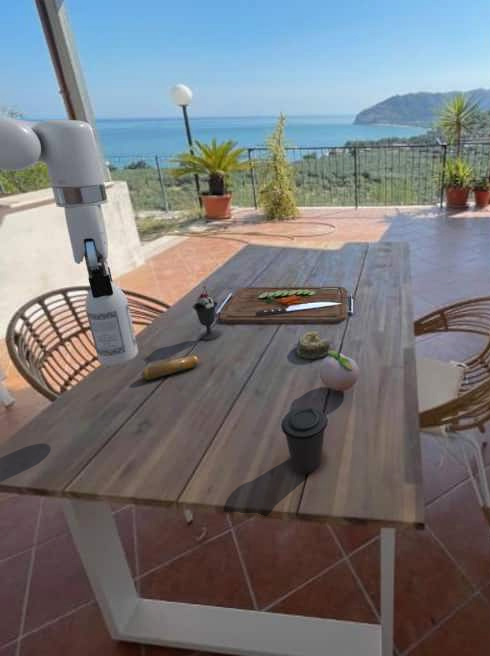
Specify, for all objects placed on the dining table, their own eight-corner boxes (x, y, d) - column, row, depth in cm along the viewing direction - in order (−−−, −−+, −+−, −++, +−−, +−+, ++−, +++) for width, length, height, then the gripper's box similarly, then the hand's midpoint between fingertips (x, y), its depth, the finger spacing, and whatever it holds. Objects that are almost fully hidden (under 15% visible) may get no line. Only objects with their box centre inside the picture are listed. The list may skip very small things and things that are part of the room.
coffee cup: (327, 442, 76) (325, 400, 72) (330, 476, 68) (329, 431, 65) (284, 447, 74) (281, 404, 71) (283, 482, 67) (279, 436, 63)
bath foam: (121, 346, 83) (100, 257, 76) (146, 351, 81) (127, 261, 74) (90, 363, 77) (65, 268, 70) (117, 370, 75) (94, 272, 68)
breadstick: (143, 384, 92) (140, 373, 91) (142, 377, 95) (139, 367, 94) (200, 367, 99) (199, 357, 98) (198, 361, 101) (196, 351, 100)
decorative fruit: (311, 390, 91) (310, 353, 87) (336, 374, 96) (335, 339, 93) (340, 408, 85) (340, 369, 81) (365, 390, 91) (365, 353, 87)
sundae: (216, 328, 118) (210, 282, 113) (224, 336, 114) (218, 289, 108) (194, 335, 114) (186, 288, 109) (202, 344, 110) (194, 295, 104)
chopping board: (353, 289, 147) (353, 282, 146) (353, 322, 122) (353, 314, 121) (234, 290, 147) (233, 282, 145) (209, 323, 121) (208, 314, 120)
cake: (312, 365, 101) (310, 348, 99) (289, 351, 107) (286, 335, 105) (340, 348, 107) (338, 332, 105) (316, 336, 114) (314, 320, 112)
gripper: (60, 190, 73) (82, 281, 79) (47, 204, 59) (76, 313, 66) (106, 188, 76) (125, 275, 83) (105, 201, 63) (127, 303, 69)
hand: (103, 291), depth 74 cm, fingers closed on bath foam, 3 cm apart
